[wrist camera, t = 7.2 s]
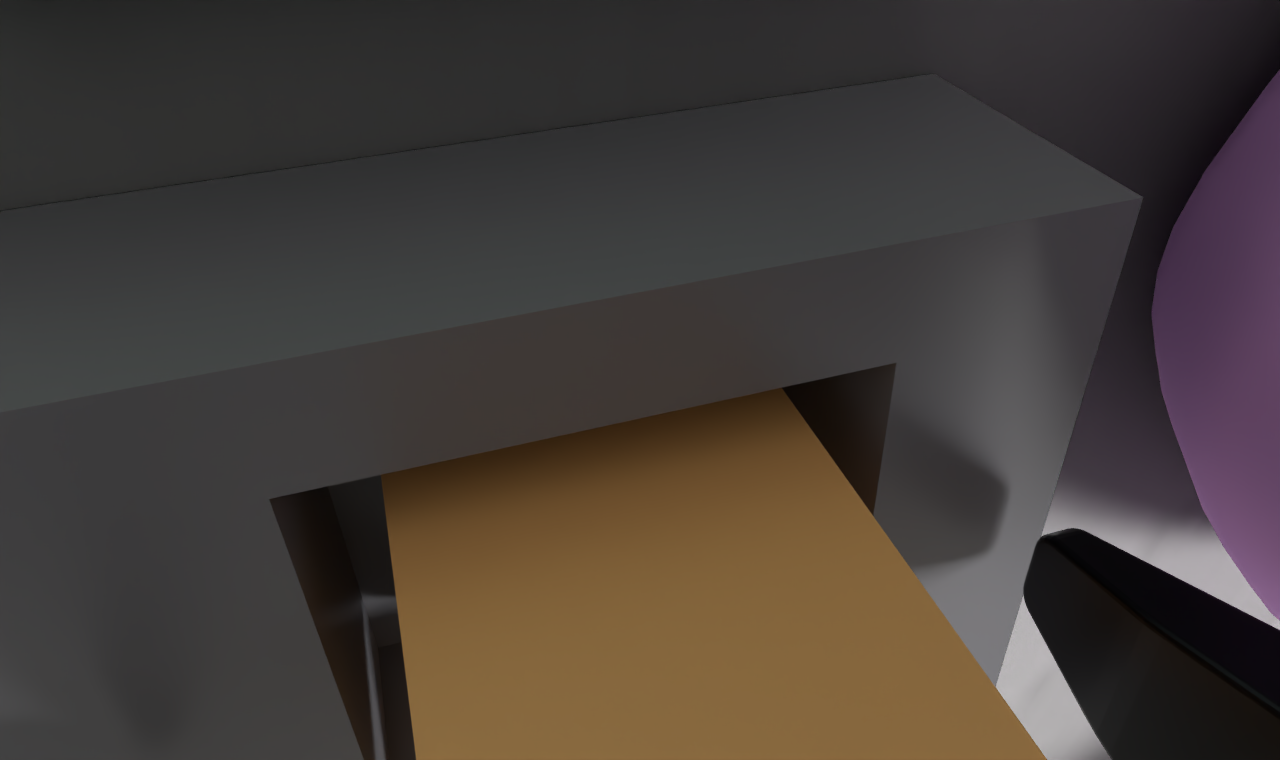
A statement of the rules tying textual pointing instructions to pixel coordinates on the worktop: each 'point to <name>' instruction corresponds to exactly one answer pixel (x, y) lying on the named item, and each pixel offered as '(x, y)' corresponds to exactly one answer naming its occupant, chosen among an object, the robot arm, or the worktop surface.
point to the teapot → (1230, 342)
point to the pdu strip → (507, 382)
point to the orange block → (674, 604)
